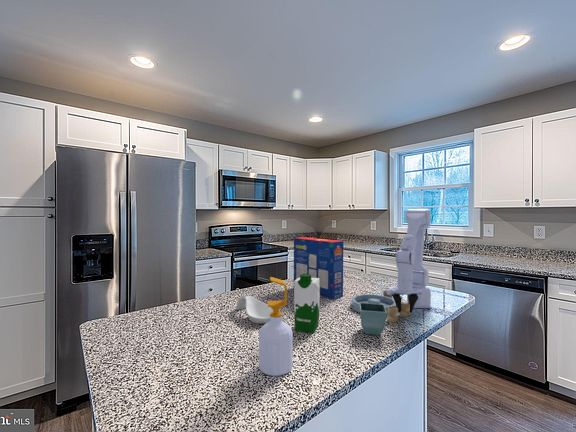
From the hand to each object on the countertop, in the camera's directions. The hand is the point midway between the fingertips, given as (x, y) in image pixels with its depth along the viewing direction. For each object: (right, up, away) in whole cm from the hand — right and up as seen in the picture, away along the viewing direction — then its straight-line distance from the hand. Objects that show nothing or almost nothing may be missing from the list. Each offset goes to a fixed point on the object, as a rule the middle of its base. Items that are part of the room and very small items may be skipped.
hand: (404, 312), depth 121 cm
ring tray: (-10, -1, +9) cm, 14 cm away
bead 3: (0, -2, 0) cm, 2 cm away
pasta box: (-33, -1, +34) cm, 47 cm away
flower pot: (-18, -2, -17) cm, 25 cm away
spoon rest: (-62, -2, -2) cm, 62 cm away
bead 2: (-7, -2, -6) cm, 9 cm away
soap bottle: (-51, -2, -40) cm, 65 cm away
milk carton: (-41, -2, -14) cm, 43 cm away
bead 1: (-1, -1, +18) cm, 18 cm away
